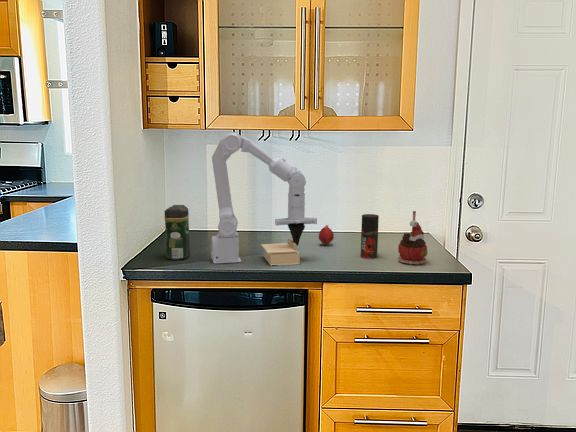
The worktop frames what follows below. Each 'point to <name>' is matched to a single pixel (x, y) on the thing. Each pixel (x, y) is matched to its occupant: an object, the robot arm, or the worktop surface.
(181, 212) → the coffee jar
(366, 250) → the deodorant
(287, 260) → the base
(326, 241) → the onion
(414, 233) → the cake
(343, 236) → the worktop surface
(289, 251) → the lid
